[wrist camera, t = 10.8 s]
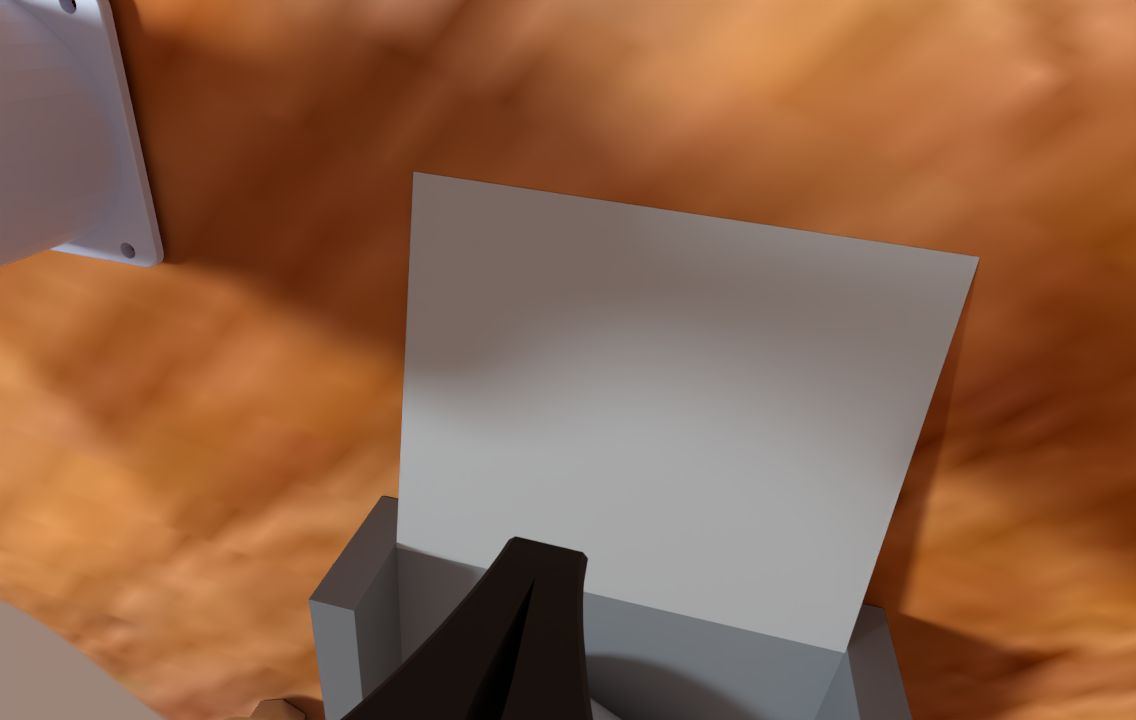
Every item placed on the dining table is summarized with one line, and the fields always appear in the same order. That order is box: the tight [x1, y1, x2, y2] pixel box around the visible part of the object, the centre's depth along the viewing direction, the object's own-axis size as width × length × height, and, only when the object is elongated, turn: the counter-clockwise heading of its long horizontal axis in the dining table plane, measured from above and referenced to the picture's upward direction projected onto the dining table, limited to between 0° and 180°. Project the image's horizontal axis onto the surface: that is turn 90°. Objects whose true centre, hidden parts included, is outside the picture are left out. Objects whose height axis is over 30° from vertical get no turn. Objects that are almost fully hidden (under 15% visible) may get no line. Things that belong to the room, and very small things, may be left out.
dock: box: [309, 172, 980, 720], centre depth 23 cm, size 18×29×6 cm, turn 174°
